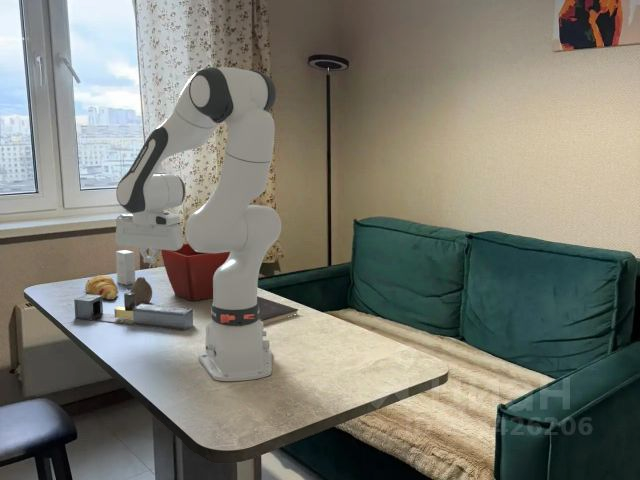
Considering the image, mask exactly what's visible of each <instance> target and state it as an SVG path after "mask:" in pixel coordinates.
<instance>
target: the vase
mask: <svg viewBox="0 0 640 480" xmlns="http://www.w3.org/2000/svg"><path fill="white" fill-rule="evenodd" d="M130 292H132V293H135V300H136V306H138V305H140V304H149V303H150V302H151V300H152V299H153V289H152V286H151V285H150V283H149V282H148V281H147V279H146V277H144V276H140V277H136V279H135V283H133V284H132V286H131V288H130Z"/></svg>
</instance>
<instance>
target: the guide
mask: <svg viewBox="0 0 640 480" xmlns="http://www.w3.org/2000/svg"><path fill="white" fill-rule="evenodd" d="M73 300H74V301H73V302H74V318H75V319H76V320H77V319H78V320H84V321H85V320H87V321H93V320H94V321H95V322H101V323H102V322H104V323H111V324H112V323H113V324H121V325H131V326H137V327H138V326H139V327H145V328H146V327H148V328H154V329H155V328H156V329H164V330H171V331H172V330H173V331H180V332H184V331H187V330H188V329H190V328H191V327H193V325H194V309H193V308H188V307H187V308H185V307H178V306H168V305H167V306H166V305H160V304H159V305H158V304H149V303H148V304H140V305H136V307H135V308H133V319H125V318H115V314H111V313H104V306H103V298H102V296H100V295H90V294H88V293H87V294H83V295H81V296H79V297H77V298H74V299H73ZM94 321H93V322H94Z"/></svg>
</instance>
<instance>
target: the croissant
mask: <svg viewBox="0 0 640 480" xmlns="http://www.w3.org/2000/svg"><path fill="white" fill-rule="evenodd" d="M84 289H85V292H86V293H87V294H90V295H100V296H102V299H104V300H114V299H115V298H116V297H117V295H118V293H119V292H118V288H117V285H116V283H115V281H114V279H113V277H112V278H111V277H109V276H107V275H103V274H98V275H96V276H94V277H92V278H91V279H88V280H87V282H86V284H85V288H84Z"/></svg>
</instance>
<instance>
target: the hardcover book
mask: <svg viewBox="0 0 640 480" xmlns="http://www.w3.org/2000/svg"><path fill="white" fill-rule="evenodd" d="M257 302H258V304H259V320H260V321H262V322H263V324H264V325H266V324H267V325H268V324H271V323H274V322H277V321H280V320H279V319H281V320H283V319H282V318H284V319H286V318H285V317H288V316H291V315H294V314H297V315H298V311H299V309H298V308H295V307H291V306H289V305H285V304H283V303H280V302H278V301H277V302H276V301H273V300H271V299H270V300H269V299H267V298H265V297H260V296H258V295H257ZM294 316H295V315H294ZM291 317H292V316H291ZM288 318H289V317H288ZM276 320H277V321H276ZM273 321H274V322H273ZM270 322H271V323H270Z"/></svg>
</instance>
